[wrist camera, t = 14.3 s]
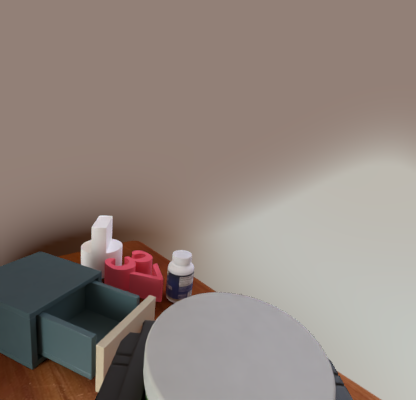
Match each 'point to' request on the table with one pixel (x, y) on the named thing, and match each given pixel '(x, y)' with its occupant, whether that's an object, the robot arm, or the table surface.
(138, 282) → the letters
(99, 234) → the cylinder with rectangular tab
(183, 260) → the pill bottle
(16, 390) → the table surface
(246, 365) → the chip tube
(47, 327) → the drawer
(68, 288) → the cabinet
